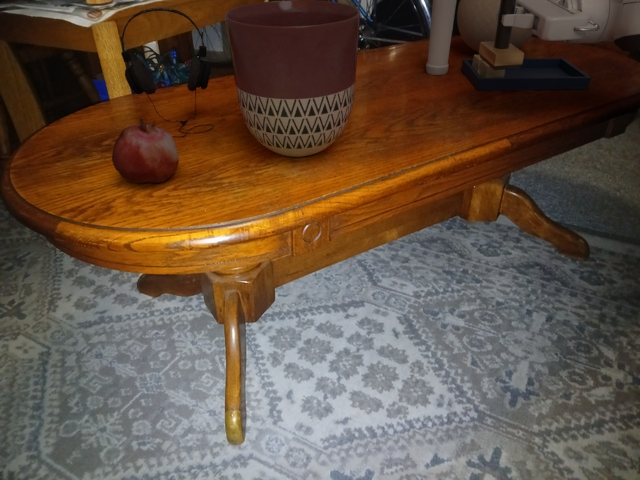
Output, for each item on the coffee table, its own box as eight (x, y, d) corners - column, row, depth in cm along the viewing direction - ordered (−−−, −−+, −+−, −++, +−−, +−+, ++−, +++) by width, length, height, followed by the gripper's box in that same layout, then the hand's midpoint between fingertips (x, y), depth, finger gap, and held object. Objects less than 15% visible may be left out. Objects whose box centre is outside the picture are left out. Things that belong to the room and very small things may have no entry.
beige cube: (496, 79, 115) (499, 60, 112) (502, 84, 111) (506, 65, 109) (478, 79, 114) (481, 61, 112) (484, 85, 111) (487, 66, 109)
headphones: (132, 141, 90) (103, 19, 78) (138, 118, 99) (112, 6, 87) (219, 134, 92) (203, 14, 81) (217, 112, 101) (202, 2, 90)
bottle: (427, 75, 119) (440, -48, 105) (423, 69, 123) (435, -50, 109) (450, 75, 119) (465, -48, 105) (444, 68, 123) (459, -51, 109)
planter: (256, 125, 95) (245, -1, 83) (361, 129, 93) (365, 0, 80) (224, 172, 79) (205, 25, 67) (350, 179, 77) (353, 28, 65)
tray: (560, 68, 122) (562, 57, 121) (588, 89, 109) (591, 77, 108) (461, 69, 123) (462, 59, 121) (477, 90, 110) (479, 78, 108)
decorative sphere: (482, 41, 145) (495, -39, 134) (547, 55, 132) (567, -33, 121) (436, 53, 135) (445, -32, 123) (502, 70, 122) (519, -24, 110)
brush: (503, 55, 99) (515, -18, 91) (521, 69, 91) (535, -10, 84) (478, 57, 99) (487, -17, 91) (493, 70, 91) (505, -9, 84)
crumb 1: (488, 71, 119) (491, 54, 117) (493, 76, 116) (497, 58, 114) (471, 72, 119) (473, 54, 117) (476, 77, 116) (479, 59, 113)
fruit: (109, 177, 78) (92, 114, 73) (166, 159, 83) (154, 99, 78) (133, 199, 73) (116, 133, 67) (193, 179, 77) (182, 115, 72)
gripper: (598, 50, 83) (512, 51, 84) (555, 23, 100) (484, 23, 101) (610, 8, 80) (519, 9, 80) (564, -13, 96) (489, -12, 97)
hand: (499, 17), depth 90 cm, fingers closed on brush, 2 cm apart
